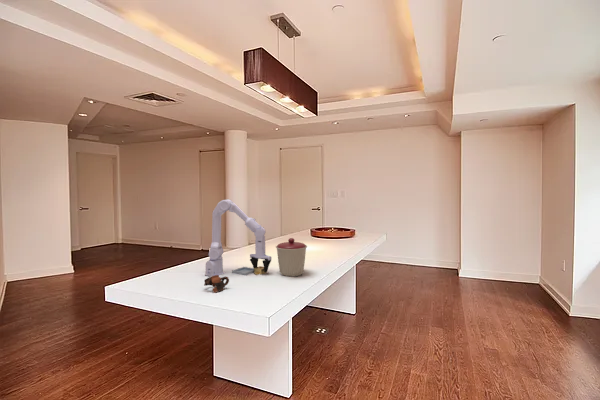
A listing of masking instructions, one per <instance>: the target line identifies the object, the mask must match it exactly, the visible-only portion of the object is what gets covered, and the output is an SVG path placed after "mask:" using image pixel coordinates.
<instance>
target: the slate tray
mask: <svg viewBox="0 0 600 400" xmlns="http://www.w3.org/2000/svg"><path fill="white" fill-rule="evenodd" d="M231 274H236V275H241V276H248V275H251V274H254V268H253V267H248V266H243V267H239V268H237V269H233V270H231Z"/></svg>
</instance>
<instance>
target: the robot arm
mask: <svg viewBox="0 0 600 400" xmlns="http://www.w3.org/2000/svg"><path fill="white" fill-rule="evenodd" d="M227 211H228V212H231V213H234V214H236V215H237V216H238V217H239V218H240V219H241V220H242V221H244V225H245V226H246V228H247V229H249V230H250V231H251V232H252V233H253V235H254V236H255V240H254V241H255V251H254V252H255V253H250V254H249V258H250V259H249V261H250V263H251V264H252V268H256V267H258V265H259V264H258V262H259V260H262V261H261V262H262V266H263V267H264V272H267V273H268V270H269V266H270V264H271V262H272V256H270V255H267V254H266V236H265V235H266V228H265V227H264V226H262V224H260V223H258V222H257V221H256V218H253V217H249V216H248V215H247V214H246V213H245V211H243V210H242V209H241V208H240V207H239V205H237V204H236V203H235V202H234V201H233V200H232V199H229V198H227V199H222V200H220V201H219V202H217V204H216V206H215V207H214V209H213V211H212V214H211V215H212V220H211V221H212V222H211V223H212V224H211V243H210V247H209V251H208V257H209V260H208V261H206V262H205V273H204V275H205V276H207V277H212V276H215V275H219V276H220V275H223V274H226V273H227V272H225V271H223V270H224V269H223V267H224V265H223V262H224V259H223V254H224V249H223V247H222V246H223V245H222V215H224V214H225V213H226V212H227Z"/></svg>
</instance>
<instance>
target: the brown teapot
mask: <svg viewBox="0 0 600 400" xmlns="http://www.w3.org/2000/svg"><path fill="white" fill-rule="evenodd" d="M229 282H230V279H229V277H228V276H222V277H221V276H220V275H215V276H208V277H207V278H205V279H204V285H203V286H205V287H206V286H212V293H213V294H215V293H217V292H222V291H223V292H224V288H225V287H226V286H228V284H229Z"/></svg>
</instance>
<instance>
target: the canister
mask: <svg viewBox="0 0 600 400" xmlns="http://www.w3.org/2000/svg"><path fill="white" fill-rule="evenodd" d="M275 248H276V253H277V263H278V267H279V272H280V274H281V276H284V277H299V276H301V275H302V274H303V273H304V270H305V260H306V255H307V254H306V253H307V252H306V251H307V248H308V245H307V244H305V243H303V242H298V241H295V239H294V238H293V237H291V238H290V237H289V238H288V241H285V242H281V243H278V244H277V245H275Z"/></svg>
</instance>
